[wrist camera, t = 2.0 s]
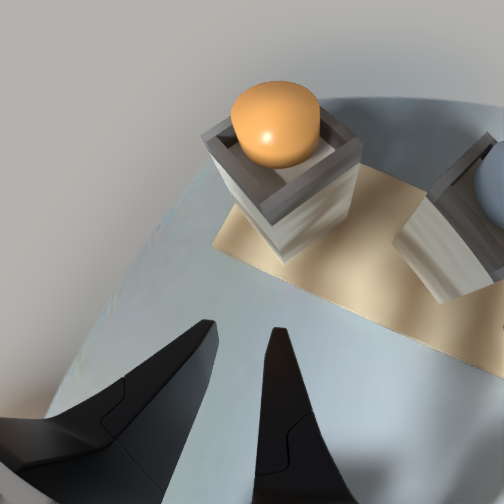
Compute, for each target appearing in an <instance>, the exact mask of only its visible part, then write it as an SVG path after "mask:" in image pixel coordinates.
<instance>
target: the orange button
mask: <svg viewBox="0 0 504 504" xmlns="http://www.w3.org/2000/svg"><path fill="white" fill-rule="evenodd" d="M231 121H232V124H233V127H234V129H235V132H236V135H237V138H238V140H239V143H240V146H241V149H242V151H243V153H244V154H245V156H246V157H247V158H248V159H249V160H250V161H252V162H253V163H255V164H257V165H259V166H262V167H265V168H270V169H286V168H290V167H294V166H297V165H299V164H301V163H303V162H304V161H306V160H307V159H308V158H310V157H311V156H312V155H313V153H314V152H315V151H316V149H317V147H318V144H319V140H320V107H319V103H318V101H317V99H316V97H315V96H314V95H313V93H312V92H310V91H309V90H308V89H306V88H305V87H303V86H301V85H299V84H296V83H292V82H287V81H270V82H265V83H261V84H258V85H256V86H253V87H251V88H250V89H248V90H246V91H245V92H244V93H243V94H241V95H240V96H239V97H238V99H237V100H236V101H235V103H234V105H233V107H232V111H231Z"/></svg>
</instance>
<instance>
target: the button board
mask: <svg viewBox="0 0 504 504" xmlns="http://www.w3.org/2000/svg"><path fill="white" fill-rule="evenodd" d="M319 107H320V140H319V144H318V147H317V149H316V151H315V152H314V153H313V155H312V156H311V157H310V158H308V159H307V160H306V161H304V162H303V163H301V164H299V165H297V166H294V167H290V168H286V169H270V168H265V167H262V166H259V165H257V164H255V163H253V162H252V161H250V160H249V159H248V158H247V157H246V156H245V154H244V153H243V151H242V149H241V146H240V143H239V140H238V138H237V135H236V132H235V129H234V127H233V124H232V121H231V116H230V117H228V118H227V119H225V120H223V121H222V122H220V123H219V124H217V125H216V126H215V127H213V128H211V129H210V130H209V131H207V132H205V133H204V134H202V135H201V138H202V139H203V141H204V143H205V145H206V147H207V149H208V151H209V153H210V155H211V157H212V158H213V160H214V162H215V164H216V166H217V168H218V170H219V172H220V174H221V176H222V178H223V179H224V181H225V183H226V185H227V187H228V189H229V191H230V193H231V195H232V197H233V199H234V200H235V202H236V203H235V204H234V206H233V208H232V210H231V212H230V213H229V215H228V217H227V219H226V221H225V222H224V224H223V226H222V228H221V230H220V231H219V233H218V235H217V237H216V239H215V240H214V242H213V244H212V245H213V246H214V247H215V249H217V250H219V251H222V252H224V253H226V254H228V255H230V256H232V257H234V258H236V259H239V260H241V261H243V262H245V263H247V264H249V265H251V266H253V267H256V268H258V269H260V270H262V271H264V272H266V273H268V274H271V275H273V276H275V277H277V278H279V279H281V280H283V281H286V282H288V283H290V284H292V285H294V286H296V287H299V288H301V289H303V290H305V291H307V292H309V293H312V294H314V295H316V296H318V297H320V298H322V299H325V300H327V301H329V302H331V303H333V304H336V305H338V306H340V307H342V308H344V309H346V310H349V311H351V312H353V313H355V314H357V315H360V316H362V317H364V318H366V319H368V320H371V321H373V322H375V323H377V324H379V325H382V326H384V327H386V328H388V329H391V330H393V331H395V332H397V333H399V334H402V335H404V336H406V337H408V338H411V339H413V340H415V341H417V342H420V343H422V344H424V345H426V346H429V347H431V348H433V349H435V350H438V351H440V352H442V353H444V354H447V355H449V356H451V357H453V358H456V359H458V360H460V361H463V362H465V363H467V364H469V365H472V366H474V367H476V368H479V369H481V370H483V371H486V372H488V373H490V374H492V375H495V376H497V377H499V378H502V379H504V230H503V229H501V228H499V227H498V226H496V225H495V224H494V223H493V222H492V221H490V220H489V218H488V217H487V216H486V215H485V213H484V212H483V210H482V209H481V207H480V205H479V203H478V201H477V198H476V195H475V192H474V186H473V178H474V174H475V171H476V169H477V168H478V166H479V165H480V164H481V162H482V161H483V160H484V158H485V157H486V156H487V155H488V153H489V152H490V150H491V149H492V148H493V146H494V145H495V144H496V143H498V142H497V141H496V140H495V139H494V138H493V137H492V136H491V135H490V134H489V133H488V132H486V133H485V134H484V135H483V136H482V137H481V138H480V139H479V140H478V141H477V142H476V143H475V144H474V145H473V146H472V147H471V148H470V149H469V150H468V151H467V152H466V153H465V154H464V155H463V156H462V157H461V158H460V159H459V160H458V161H457V162H456V163H455V164H454V165H453V166H452V167H451V168H449V169H448V170H447V171H446V172H445V173H444V174H443V175H442V176H441V177H440V178H439V179H438V180H437V181H435V183H434V184H433V186H432V187H431V189H430V190H429V192H428V193H427V192H425V191H423V190H421V189H419V188H417V187H415V186H412V185H410V184H408V183H406V182H404V181H401V180H399V179H397V178H395V177H392V176H390V175H388V174H385V173H383V172H381V171H378V170H376V169H373V168H371V167H368V166H366V165H363V164H361V163H360V162H361V158H362V153H363V149H364V143H363V142H362V141H361V140H359V139H358V138H357V137H356V136H355V135H354V134H353V133H352V132H350V131H349V130H348V129H347V128H346V127H345V126H344V125H342V124H341V123H340V122H339V121H338V120H336V119H335V118H334V117H333V116H332V115H330V114H329V113H328V112H327V111H326V110H324V109H323V108H322V107H321V106H319Z"/></svg>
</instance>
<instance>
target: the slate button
mask: <svg viewBox="0 0 504 504" xmlns="http://www.w3.org/2000/svg"><path fill="white" fill-rule="evenodd" d="M473 186H474V192H475V195H476V198H477V201H478V203H479V205H480V207H481V209H482V210H483V212H484V213H485V215H486V216H487V217H488V218H489V220H490V221H492V222H493V223H494V224H495V225H496V226H498V227H499V228H501V229H503V230H504V141H502V142H498V143H496V144H495V145H494V146H493V148H492V149H491V150H490V152H489V153H488V155H487V156H486V157H485V158H484V160H483V161H482V162H481V164H480V165H479V166H478V168H477V169H476V171H475V174H474V178H473Z"/></svg>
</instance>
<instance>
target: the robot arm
mask: <svg viewBox="0 0 504 504" xmlns="http://www.w3.org/2000/svg"><path fill="white" fill-rule="evenodd" d="M218 345H219V337H218V331H217V325H216V322H215V321H214V320H206V319H203V320H201V321H199V322H198V323H197V324H195V325H194V326H193V327H191V328H190V329H189V330H187V331H186V332H184V333H183V334H182V335H180V336H179V337H178V338H176V339H175V340H173V341H172V342H171V343H169V344H168V345H167V346H165V347H164V348H162V349H161V350H160V351H158V352H157V353H155V354H154V355H153V356H151V357H150V358H148V359H147V360H146V361H144V362H143V363H141V364H140V365H139V366H137V367H136V368H134V369H133V370H132V371H130V372H129V373H127V374H126V375H125V376H124V377H122V378H120V379H119V380H117V381H116V382H114V383H113V384H111V385H110V386H108V387H107V388H105V389H104V390H102V391H101V392H99V393H97V394H96V395H94V396H92V397H90V398H89V399H87V400H85V401H83V402H81V403H80V404H78V405H76V406H74V407H72V408H70V409H68V410H67V411H65V412H63V413H61V414H59V415H57V416H54V417H51V418H47V419H19V418H4V417H0V504H161V503H162V500H163V498H164V495H165V492H166V490H167V488H168V485H169V483H170V480H171V478H172V475H173V473H174V470H175V468H176V465H177V463H178V460H179V458H180V455H181V453H182V450H183V448H184V445H185V443H186V440H187V438H188V435H189V433H190V430H191V428H192V425H193V423H194V420H195V418H196V415H197V413H198V410H199V408H200V405H201V403H202V400H203V398H204V395H205V393H206V390H207V387H208V384H209V381H210V377H211V373H212V369H213V365H214V361H215V357H216V353H217V349H218ZM251 504H359V503H358V502H357V500H356V499H355V498H354V496H353V495H352V494H351V492H350V490H349V489H348V487H347V485H346V483H345V482H344V480H343V478H342V476H341V474H340V472H339V470H338V468H337V466H336V464H335V462H334V460H333V458H332V456H331V454H330V452H329V450H328V448H327V446H326V444H325V442H324V439H323V437H322V435H321V432H320V429H319V426H318V424H317V421H316V418H315V415H314V412H313V409H312V406H311V403H310V399H309V396H308V393H307V390H306V387H305V384H304V381H303V377H302V374H301V371H300V368H299V365H298V362H297V359H296V356H295V353H294V350H293V346H292V343H291V340H290V337H289V334H288V331H287V329H286V328H280V327H274V328H273V329H272V333H271V336H270V339H269V343H268V346H267V349H266V353H265V358H264V370H263V383H262V396H261V409H260V421H259V433H258V445H257V456H256V467H255V478H254V488H253V495H252V501H251Z"/></svg>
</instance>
